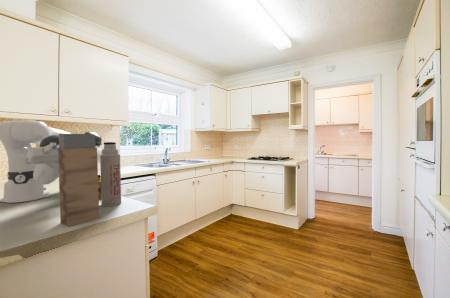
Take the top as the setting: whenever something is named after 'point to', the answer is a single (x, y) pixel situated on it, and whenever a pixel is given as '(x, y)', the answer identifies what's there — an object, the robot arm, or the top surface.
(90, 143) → the brushed metal plate
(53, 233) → the top surface
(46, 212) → the top surface
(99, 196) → the condiment
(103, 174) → the thermos bottle
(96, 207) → the pedestal
